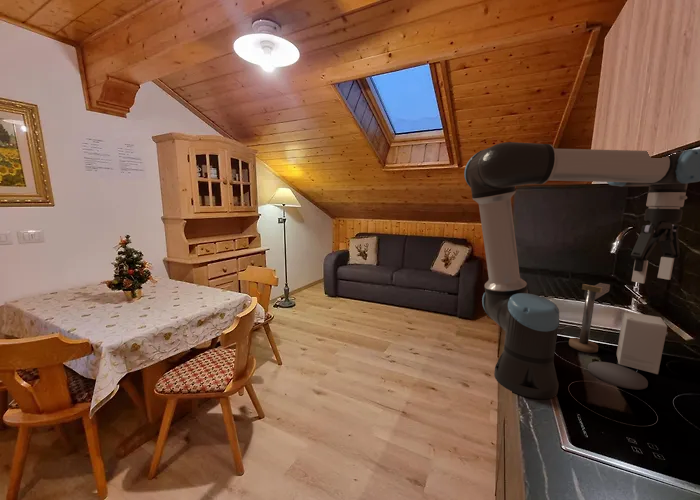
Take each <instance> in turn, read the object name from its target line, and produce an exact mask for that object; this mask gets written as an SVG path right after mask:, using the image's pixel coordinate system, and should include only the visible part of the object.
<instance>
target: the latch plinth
mask: <svg viewBox="0 0 700 500" xmlns="http://www.w3.org/2000/svg"><path fill="white" fill-rule="evenodd" d="M579 340H580V337H571V338H569V340H568V345H569V347H571V348H572V349H574V350H577V351H579V352H583V353H584V352H585V353H591V354H595V353H598V351H599V345H598V344H597V343H595V342H594V341H592V340H589V341H588V344H583V343H580V342H579Z"/></svg>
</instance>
